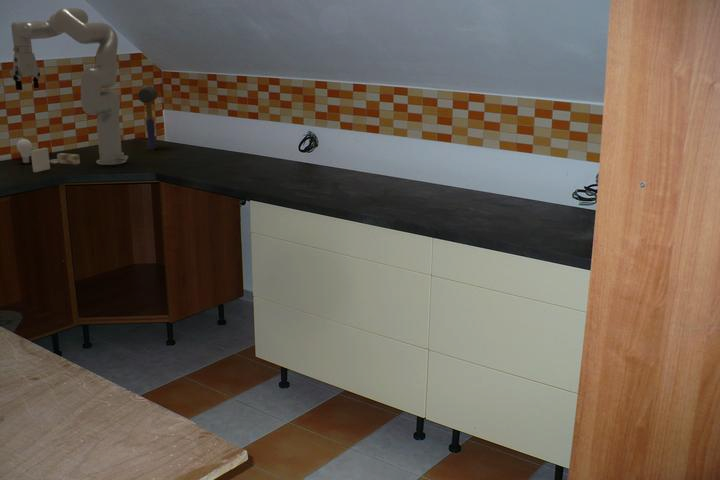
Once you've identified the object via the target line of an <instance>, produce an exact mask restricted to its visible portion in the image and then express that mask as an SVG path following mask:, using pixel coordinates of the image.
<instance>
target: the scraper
mask: <svg viewBox="0 0 720 480" xmlns="http://www.w3.org/2000/svg"><path fill="white" fill-rule="evenodd" d="M49 162H50V164H67V165H79V164H81V160H80V154H77V153H76V154H75V153H65V152H60V153H57V154H56V158H53V159H49Z"/></svg>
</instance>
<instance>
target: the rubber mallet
mask: <svg viewBox="0 0 720 480" xmlns="http://www.w3.org/2000/svg"><path fill="white" fill-rule="evenodd" d="M158 96H159V92H158V90H157V89H156V88H155V87H154V86H144V87H142V88H141V89H140V90H138V93H137V98H138V100H139V101H140V102H141V103H143V104H145V107H146V108H145V109H146V125H145V126H146V134H147V148H148V149H149V150H151V151H154V150H156V148H157V143H156V135H155V134H156V133H155V132H156V127H155V121H154V119H153V108H152V103H153V102H154V101H155V100H156V99H157V98H158Z"/></svg>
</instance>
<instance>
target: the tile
mask: <svg viewBox="0 0 720 480" xmlns="http://www.w3.org/2000/svg"><path fill="white" fill-rule="evenodd" d="M30 156H31V157H30V158H31V164H32V165H31V166H32V172H33V173H39V172H42V171H47V170H51V165H50V164H51V163H50V162H49V160H50V153H49V148H48V147H42V148H38V149H33V150H32V149H31V151H30Z"/></svg>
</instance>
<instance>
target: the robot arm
mask: <svg viewBox="0 0 720 480" xmlns="http://www.w3.org/2000/svg"><path fill="white" fill-rule="evenodd" d="M10 28H11V35H12V37H11V38H12V42H13V43H12V45H13V48H12V51H13V52H14V53H13V59H12V61H13V68H12V69H11V70H9V74H10V76H11V78H12V80H13V81H14V82H15V90H16V91H22V90H23V82H22V77H31V76H35V77H34V79H33V78H32V79H33V81H34V88H33V89H40V88H39V87H40V86H39V84H40V83H39V78H40V75H41V71H42V70H41V71H40V69H41V68H40V67H38V63H37V60H36V56H35V55H36V54H35V53H34V52H33V46H32V40H37V39H38V40H39V39H50V38H53V37H57V36H61V35H62V34H64V33H65V34H66V35H68V36H69V37H71V38H72V39H73V40H74V41H75V42H76V43H79V44H84V45H89V44H90V45H92V44H99V45H98V48H97V50H96V54H95V65H93V66H89V67H86V68H85V69H84V70H83V71H82V73H81V75H80V104H81V107H82V110H83V111H84V113H85V114H87V115H88V116H95V115H96V117H97V118H96V131H97V133H96V134H97V142H98V143H97V144H98V153H99V159H97V160H96V164H97V165H101V166H113V165H114V166H116V165H121V164H124V163H126V162H127V160H128V158H129V155H125V153H124V151H122V141H121V139H122V138H121V128H120V107H121V106H120V105H121V102H120V97H119V96H118V93H116V92H115V91H113V90H107V89H108V88H111V87H114V86H115V84H116V82H117V73H118V72H117V64H118V63H117V59H118V58H117V54H118V45H119V40H118V35H117V32H116V31H115V29H114V28H113V27H112V26H111V25H110V24H108V23H104V22H89V16H88V14H87V12H86V11H85V10H83V9H82V8H79V7H78V8H77V7H75V8H73V7H68V8H67V7H64V8H59V9H58V10H57V11H56V13H53V14H51V15H50V17H49V19H48V20H39V21H14V22H12V23H11V25H10ZM101 89H106V90H101Z"/></svg>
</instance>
